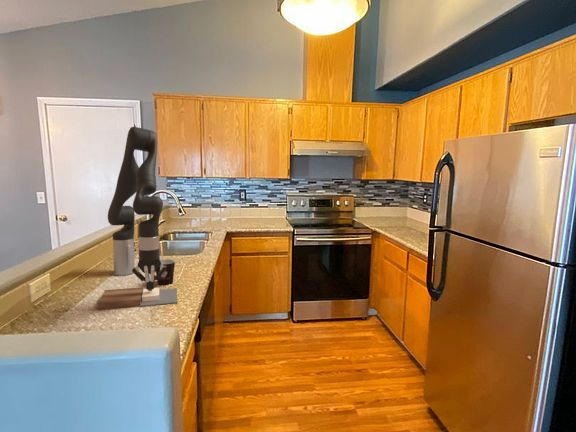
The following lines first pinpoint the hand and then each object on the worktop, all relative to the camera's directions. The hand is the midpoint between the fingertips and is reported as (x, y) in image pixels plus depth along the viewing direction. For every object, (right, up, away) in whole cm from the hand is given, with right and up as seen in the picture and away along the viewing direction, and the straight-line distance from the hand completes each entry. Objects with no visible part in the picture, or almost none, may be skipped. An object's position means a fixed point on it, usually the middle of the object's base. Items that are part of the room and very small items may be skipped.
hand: (150, 290), depth 127 cm
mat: (+3, -3, +2) cm, 5 cm away
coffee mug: (-3, -1, +19) cm, 19 cm away
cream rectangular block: (0, -3, +1) cm, 3 cm away
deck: (-10, -3, -3) cm, 11 cm away
